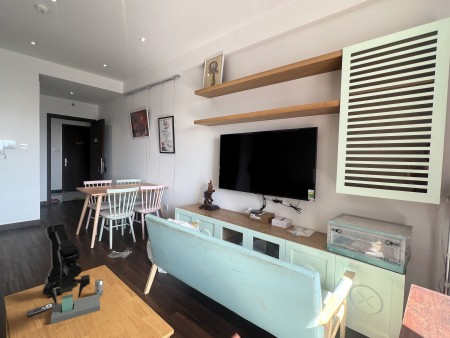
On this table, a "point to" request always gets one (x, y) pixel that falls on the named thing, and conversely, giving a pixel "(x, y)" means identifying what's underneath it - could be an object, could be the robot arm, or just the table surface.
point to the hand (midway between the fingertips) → (67, 300)
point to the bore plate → (76, 308)
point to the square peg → (67, 303)
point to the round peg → (99, 287)
